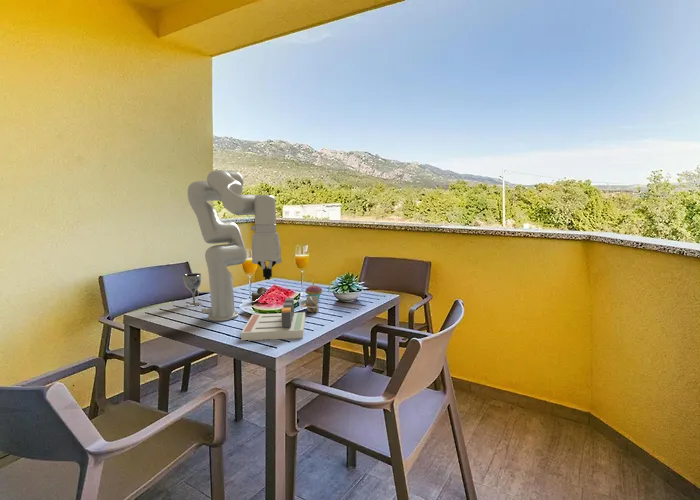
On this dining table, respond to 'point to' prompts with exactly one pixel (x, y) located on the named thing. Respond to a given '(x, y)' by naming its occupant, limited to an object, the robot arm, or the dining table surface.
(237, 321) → the dining table surface
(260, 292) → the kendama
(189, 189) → the robot arm
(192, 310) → the dining table surface
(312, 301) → the architectural model
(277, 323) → the switch panel
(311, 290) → the cupcake
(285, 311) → the grey upright block
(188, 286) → the wine glass
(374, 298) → the dining table surface
